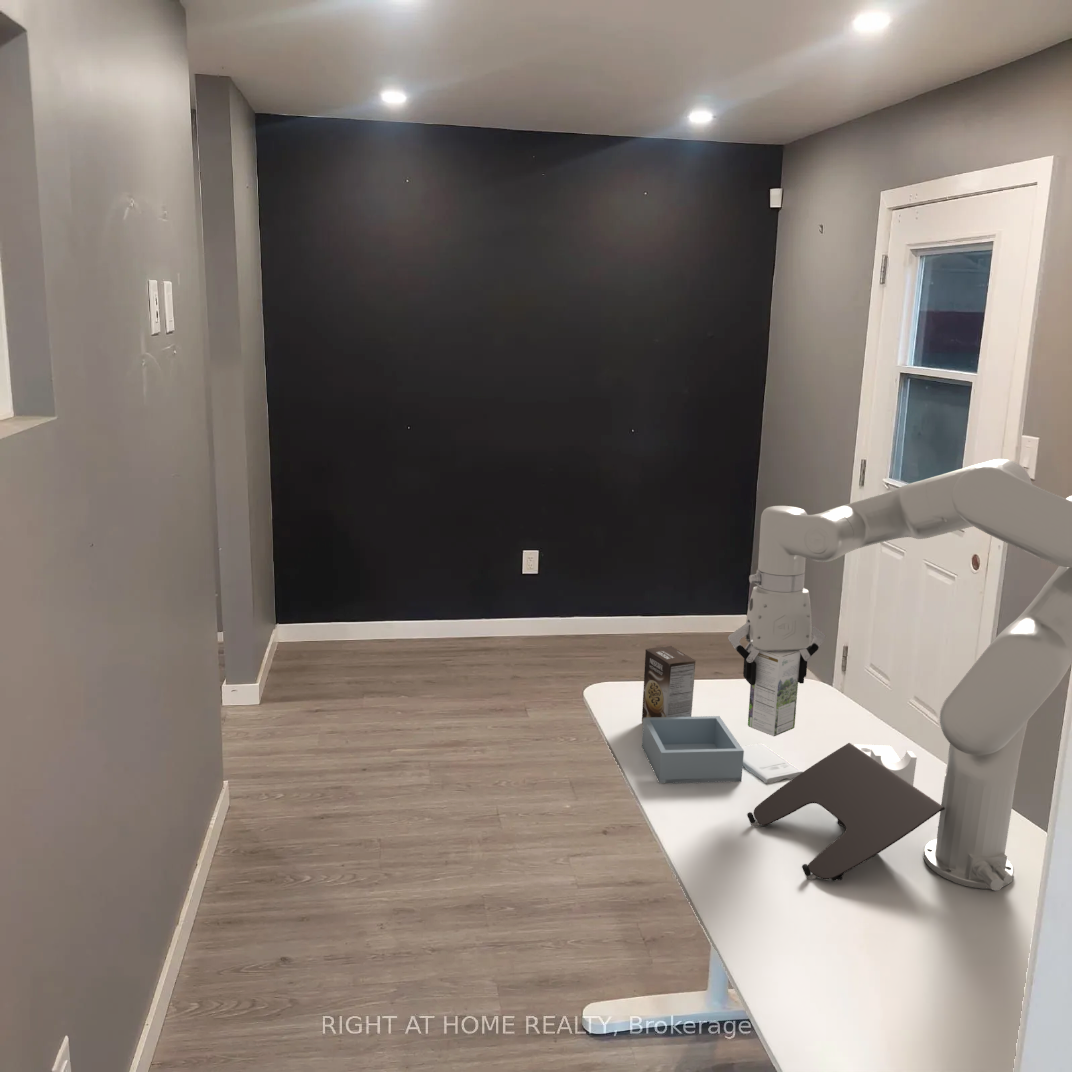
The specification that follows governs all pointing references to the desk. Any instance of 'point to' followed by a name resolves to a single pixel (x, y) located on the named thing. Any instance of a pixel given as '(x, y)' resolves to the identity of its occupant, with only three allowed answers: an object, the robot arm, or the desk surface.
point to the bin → (692, 749)
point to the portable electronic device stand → (851, 808)
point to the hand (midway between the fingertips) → (774, 680)
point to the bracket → (892, 760)
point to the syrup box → (774, 692)
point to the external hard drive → (767, 764)
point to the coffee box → (668, 683)
